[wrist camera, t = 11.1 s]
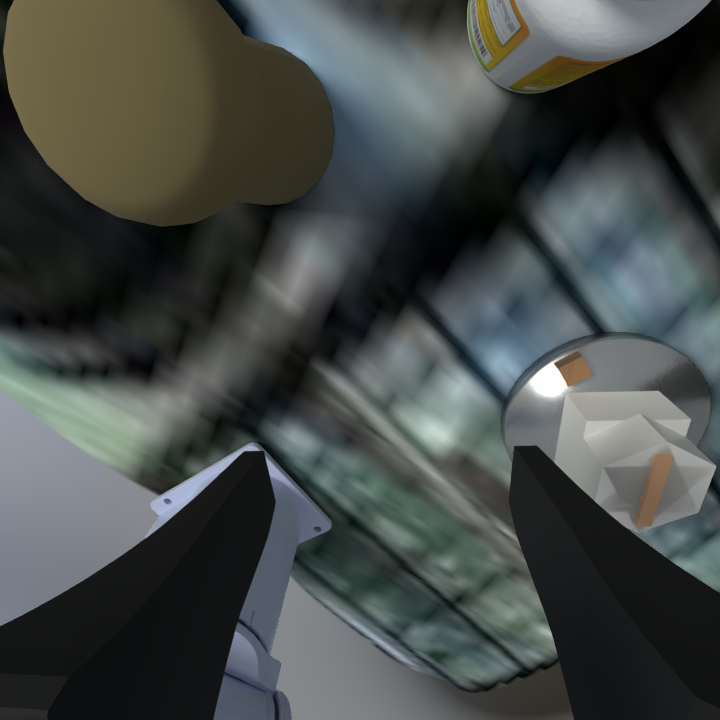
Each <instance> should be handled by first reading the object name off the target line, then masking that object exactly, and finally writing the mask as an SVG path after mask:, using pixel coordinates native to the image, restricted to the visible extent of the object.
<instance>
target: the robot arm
mask: <svg viewBox="0 0 720 720" xmlns="http://www.w3.org/2000/svg"><path fill="white" fill-rule="evenodd" d="M169 499H170V500H169ZM509 504H510V508H511V513H512V517H513V521H514V525H515V530H516V534H517V537H518V540H519V543H520V546H521V549H522V551H523V554H524V557H525V560H526V562H527V565H528V568H529V571H530V573H531V576H532V579H533V582H534V584H535V587H536V590H537V593H538V595H539V598H540V601H541V603H542V606H543V609H544V612H545V614H546V617H547V620H548V623H549V626H550V629H551V633H552V636H553V639H554V643H555V647H556V650H557V654H558V658H559V662H560V665H561V669H562V672H563V677H564V681H565V685H566V689H567V692H568V696H569V700H570V704H571V708H572V712H573V716H574V720H720V593H719V592H717V591H715V590H714V589H712V588H711V587H709V586H708V585H706V584H705V583H703V582H701V581H700V580H698V579H697V578H695V577H694V576H692V575H691V574H689V573H687V572H686V571H684V570H683V569H682V568H680V567H679V566H677V565H676V564H674V563H673V562H671V561H670V560H668V559H667V558H666V557H664V556H663V555H662V554H660V553H659V552H657V551H656V550H655V549H653V548H652V547H651V546H649V545H648V544H646V543H645V542H644V541H642V540H641V539H640V538H638V537H637V536H636V535H635V534H633V533H632V532H631V531H629V530H628V529H627V528H626V527H624V526H623V525H622V524H621V523H620V522H618V521H617V520H616V519H615V518H614V517H612V516H611V515H610V514H609V513H608V512H606V511H605V510H604V509H603V508H602V507H601V506H600V505H598V504H597V503H596V502H595V501H594V500H593V499H592V498H591V497H590V496H589V495H588V494H586V493H585V492H584V491H583V490H582V489H581V488H580V487H579V486H578V485H577V484H576V483H575V482H574V481H573V480H572V479H570V478H569V477H568V476H567V475H566V474H565V473H564V472H563V471H562V470H561V469H560V468H559V467H558V466H557V465H556V464H555V463H554V462H553V461H552V460H551V459H550V458H549V457H548V456H547V455H546V454H545V453H544V452H543V451H542V450H541V449H540V448H539V447H538V446H537V445H533V446H514V452H513V463H512V473H511V484H510V495H509ZM151 508H152V509H153V510H154V511H155V512H156V513H157V514H158V515H159V517H158V519H157V520H156V522H155V523H154V525H153V526H152V528H151V529H150V531H149V532H148V534H147V535H146V537H145V538H144V540H143V541H141V542H140V543H139V544H137V545H136V546H135V547H133V548H132V549H130V550H129V551H128V552H126V553H125V554H123V555H122V556H120V557H119V558H118V559H116V560H114V561H113V562H111V563H110V564H108V565H107V566H105V567H104V568H102V569H101V570H99V571H97V572H96V573H94V574H93V575H91V576H90V577H88V578H87V579H85V580H84V581H82V582H80V583H79V584H77V585H75V586H74V587H72V588H70V589H69V590H67V591H65V592H63V593H62V594H60V595H58V596H57V597H55V598H53V599H51V600H49V601H48V602H46V603H44V604H42V605H41V606H39V607H37V608H35V609H33V610H31V611H29V612H27V613H26V614H24V615H22V616H20V617H18V618H16V619H14V620H12V621H10V622H8V623H6V624H4V625H2V626H0V720H292V716H291V709H290V705H289V702H288V699H287V697H286V696H285V694H284V693H283V692H281V691H278V690H276V685H277V681H278V676H279V671H280V667H281V663H280V662H279V661H278V660H276V659H274V658H272V657H271V656H270V653H271V649H272V645H273V641H274V637H275V633H276V629H277V625H278V621H279V617H280V613H281V609H282V605H283V600H284V597H285V593H286V589H287V585H288V581H289V577H290V573H291V569H292V565H293V561H294V557H295V553H296V549H297V545H298V544H301V543H303V542H305V541H307V540H309V539H311V538H314V537H316V536H318V535H320V534H322V533H325V532H327V531H329V530H330V529H331V526H332V521H331V520H330V519H329V518H328V516H327V515H326V514H325V513H324V512H323V511H322V510H321V509H320V508H319V507H318V506H317V505H316V504H315V503H314V502H313V501H312V500H311V498H310V497H309V496H308V495H307V494H306V493H305V492H304V491H303V490H302V489H301V488H300V487H299V486H298V485H297V484H296V483H295V482H294V480H293V479H292V478H291V477H290V476H289V475H288V474H287V473H286V472H285V471H284V470H283V469H282V468H281V467H280V466H279V465H278V463H277V462H276V461H275V460H274V459H273V458H272V457H271V456H270V455H269V454H268V453H267V452H266V451H265V450H264V449H263V448H262V447H261V446H260V445H259V444H257V443H249V444H248V445H246V446H244V447H242V448H241V449H239V450H237V451H236V452H234V453H232V454H230V455H229V456H227V457H225V458H224V459H222V460H220V461H218V462H217V463H215V464H213V465H212V466H210V467H208V468H206V469H205V470H203V471H201V472H199V473H198V474H196V475H194V476H193V477H191V478H189V479H187V480H186V481H184V482H182V483H181V484H179V485H177V486H175V487H174V488H172V489H170V490H169V491H167V492H165V493H163V494H162V495H160V496H158V497H157V498H155V499H154V500H153V501H152V503H151Z"/></svg>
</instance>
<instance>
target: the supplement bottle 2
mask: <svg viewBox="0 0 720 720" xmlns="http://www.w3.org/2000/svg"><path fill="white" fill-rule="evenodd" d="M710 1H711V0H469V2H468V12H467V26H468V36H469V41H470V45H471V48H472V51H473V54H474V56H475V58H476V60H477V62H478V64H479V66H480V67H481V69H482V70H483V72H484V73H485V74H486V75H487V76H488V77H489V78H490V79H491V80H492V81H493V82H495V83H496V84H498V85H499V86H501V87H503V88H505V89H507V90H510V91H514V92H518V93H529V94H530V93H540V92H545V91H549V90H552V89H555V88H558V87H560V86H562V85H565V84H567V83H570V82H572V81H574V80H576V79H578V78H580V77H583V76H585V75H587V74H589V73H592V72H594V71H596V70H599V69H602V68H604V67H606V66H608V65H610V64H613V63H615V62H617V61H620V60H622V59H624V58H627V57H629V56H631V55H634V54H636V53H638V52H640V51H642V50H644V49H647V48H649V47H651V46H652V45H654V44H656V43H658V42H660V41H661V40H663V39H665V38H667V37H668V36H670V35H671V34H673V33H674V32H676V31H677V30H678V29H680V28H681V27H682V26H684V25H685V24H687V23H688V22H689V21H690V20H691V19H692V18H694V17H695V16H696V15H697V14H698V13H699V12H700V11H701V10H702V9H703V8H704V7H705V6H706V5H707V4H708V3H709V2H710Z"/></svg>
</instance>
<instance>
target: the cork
mask: <svg viewBox="0 0 720 720" xmlns="http://www.w3.org/2000/svg"><path fill="white" fill-rule="evenodd" d="M3 54H4V61H5V67H6V74H7V81H8V88H9V93H10V96H11V98H12V101H13V103H14V106H15V108H16V111H17V113H18V116H19V118H20V121H21V123H22V126H23V128H24V131H25V132H26V134H27V135H28V137H29V138H30V140H31V141H32V143H33V144H34V146H35V147H36V149H37V150H38V151H39V153H40V154H41V156H42V157H43V159H44V160H45V162H46V163H47V165H48V166H50V167H51V168H52V169H53V170H54V171H55V172H56V173H57V174H58V175H59V176H60V177H61V178H62V179H64V180H65V181H66V182H67V183H68V184H69V185H70V186H71V187H72V188H73V189H74V190H75V191H76V192H78V193H79V194H80V195H81V196H82V197H83V198H84V199H86V200H88V201H89V202H91V203H93V204H95V205H97V206H98V207H100V208H102V209H104V210H106V211H107V212H109V213H111V214H113V215H115V216H117V217H121V218H125V219H129V220H134V221H138V222H143V223H147V224H152V225H157V226H170V225H180V224H189V223H195V222H197V221H200V220H203V219H205V218H207V217H209V216H211V215H212V214H214V213H216V212H218V211H220V210H222V209H224V208H226V207H228V206H229V205H230V204H231V203H232V202H233V201H237V202H245V203H253V204H261V205H275V204H284V203H289V202H291V201H293V200H295V199H297V198H299V197H301V196H303V195H305V194H307V192H308V191H309V190H310V189H311V188H312V187H313V186H314V185H315V184H316V183H317V182H318V181H319V180H320V179H321V177H322V175H323V173H324V171H325V169H326V167H327V165H328V163H329V161H330V159H331V153H332V147H333V140H334V125H333V117H332V108H331V106H330V103H329V101H328V98H327V96H326V93H325V91H324V89H323V86H322V84H321V82H320V81H319V80H318V78H317V77H316V76H315V75H314V73H313V72H312V71H311V70H310V68H309V67H308V66H307V65H306V63H305V62H303V61H302V60H300V59H299V58H297V57H296V56H294V55H293V54H291V53H290V52H288V51H287V50H285V49H284V48H281V47H278V46H275V45H272V44H268V43H265V42H262V41H259V40H256V39H253V38H250V37H247V36H244V35H242V33H241V31H240V29H239V27H238V26H237V25H236V24H235V23H234V21H233V20H232V19H231V18H230V17H229V15H228V14H227V13H226V12H225V10H224V9H223V8H222V7H221V6H220V4H219V3H218V2H217V1H216V0H14V2H13V4H12V6H11V8H10V10H9V12H8V18H7V26H6V34H5V41H4V49H3Z"/></svg>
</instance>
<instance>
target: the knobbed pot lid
mask: <svg viewBox="0 0 720 720" xmlns="http://www.w3.org/2000/svg"><path fill="white" fill-rule="evenodd" d="M629 391H659V392H661V393H662V394H663V395H664V396H665V397H666V398H667V399H669V400H670V401H671V402H672V403H673V404H674V405H675V406H677V407H678V408H679V409H680V410H681V411H682V412H683V413H684V414H686V415H687V416H688V417H689V418H690V419H691V422H690V425H689V428H688V431H687V434H686V438H687V439H688V440H689V441H691V442H692V443H693V444H694V445H695V446H697V445H698V443H699V442H700V440H701V438H702V436H703V434H704V432H705V430H706V427H707V424H708V420H709V416H710V407H711V401H710V393H709V389H708V386H707V383H706V381H705V379H704V377H703V375H702V373H701V372H700V371H699V370H698V368H697V367H696V366H695V365H694V364H693V363H692V362H691V361H690V360H689V359H688V358H686V357H685V356H684V355H682V354H681V353H679V352H678V351H676V350H675V349H673V348H672V347H670V346H668V345H667V344H665V343H664V342H662V341H659V340H657V339H654V338H652V337H649V336H645V335H641V334H635V333H628V332H608V333H599V334H594V335H589V336H584V337H581V338H578V339H575V340H572V341H569V342H567V343H565V344H563V345H561V346H558V347H556V348H555V349H553V350H551V351H550V352H548V353H546V354H545V355H543V356H542V357H541V358H539V359H538V360H536V361H535V362H534V363H533V364H532V365H531V366H530V367H529V368H527V369H526V370H525V371H524V373H523V374H522V375H521V376H520V377H519V378H518V380H517V381H516V382H515V384H514V386H513V387H512V389H511V390H510V392H509V394H508V396H507V399H506V401H505V404H504V407H503V411H502V418H501V432H502V437H503V441H504V444H505V447H506V449H507V452H508V454H509V457H510V459H511V461H512V463H513V452H514V446H533V445H537V446H538V447H539V448H540V449H541V450H542V451H543V452H544V453H545V454H546V455H547V456H548V457H549V458H550V459H551V460H552V461H553V462H554V461H555V455H556V449H557V443H558V437H559V431H560V425H561V419H562V413H563V408H564V402H565V396H566V393H582V392H629ZM554 463H555V462H554Z"/></svg>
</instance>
